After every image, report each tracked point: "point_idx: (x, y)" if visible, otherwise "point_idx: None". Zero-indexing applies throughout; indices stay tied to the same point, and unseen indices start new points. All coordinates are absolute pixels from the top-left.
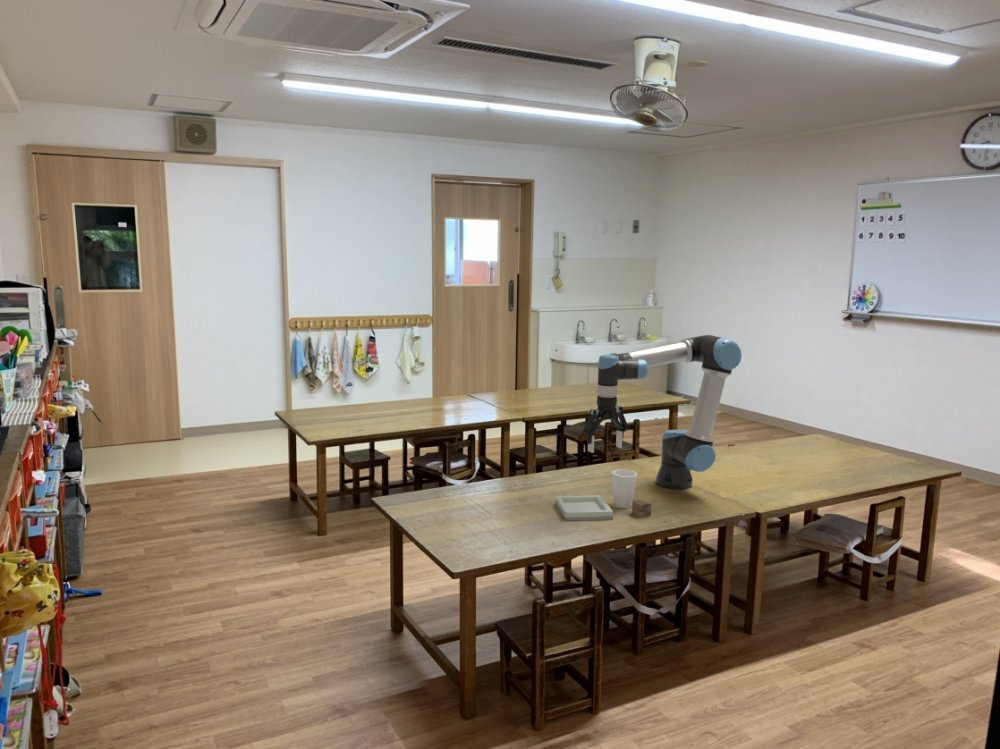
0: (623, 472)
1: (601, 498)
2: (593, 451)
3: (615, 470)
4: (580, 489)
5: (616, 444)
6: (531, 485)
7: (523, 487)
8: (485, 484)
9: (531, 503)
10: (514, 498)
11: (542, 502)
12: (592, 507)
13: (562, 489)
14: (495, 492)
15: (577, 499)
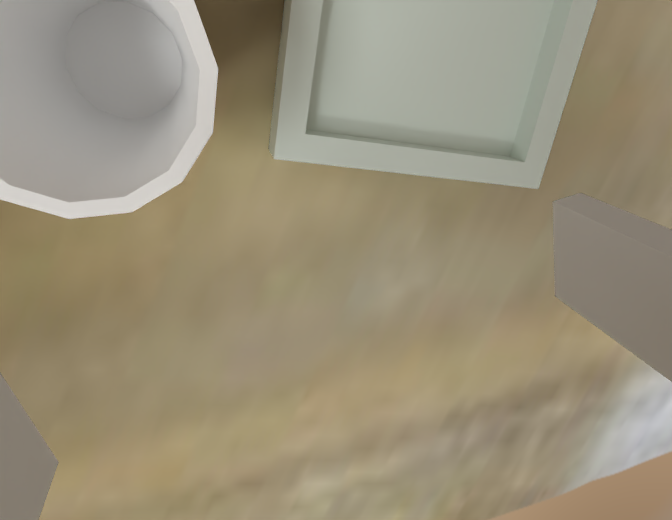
0: (52, 185)
1: (289, 92)
2: (568, 205)
3: (148, 194)
4: (292, 365)
5: (40, 484)
6: (491, 427)
7: (534, 406)
8: (646, 443)
9: None
10: None
11: None
12: (376, 18)
13: (382, 372)
14: None
15: (424, 147)
